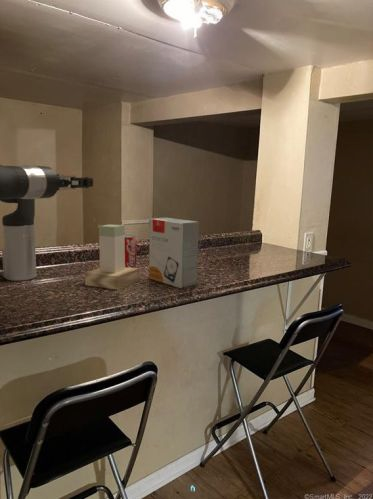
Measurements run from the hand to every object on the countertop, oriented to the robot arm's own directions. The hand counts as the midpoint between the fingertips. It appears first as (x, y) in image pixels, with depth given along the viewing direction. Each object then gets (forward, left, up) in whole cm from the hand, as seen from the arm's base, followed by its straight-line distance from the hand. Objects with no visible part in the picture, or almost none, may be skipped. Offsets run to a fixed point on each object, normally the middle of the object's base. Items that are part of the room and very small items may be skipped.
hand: (78, 182), depth 105 cm
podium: (0, +14, -31) cm, 34 cm away
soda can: (-4, +28, -31) cm, 42 cm away
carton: (0, +14, -27) cm, 31 cm away
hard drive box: (+16, +24, -31) cm, 43 cm away
